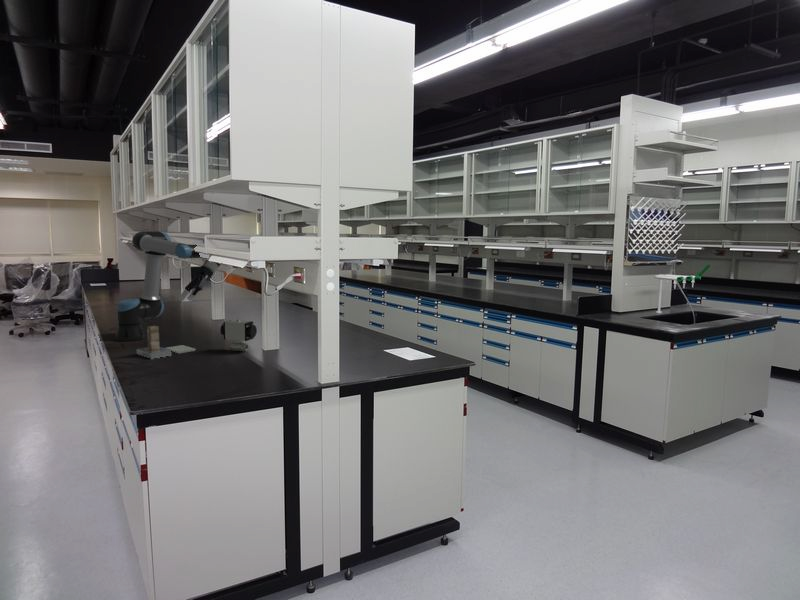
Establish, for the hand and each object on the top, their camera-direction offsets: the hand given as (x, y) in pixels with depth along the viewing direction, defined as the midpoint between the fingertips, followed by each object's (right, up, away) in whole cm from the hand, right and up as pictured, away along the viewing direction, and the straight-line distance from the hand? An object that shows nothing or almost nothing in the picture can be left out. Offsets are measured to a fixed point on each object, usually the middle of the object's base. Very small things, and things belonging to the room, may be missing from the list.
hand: (184, 300), depth 275 cm
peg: (-11, -28, -10) cm, 32 cm away
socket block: (-11, -28, -10) cm, 32 cm away
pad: (-3, -27, +2) cm, 27 cm away
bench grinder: (+29, -28, +3) cm, 40 cm away
